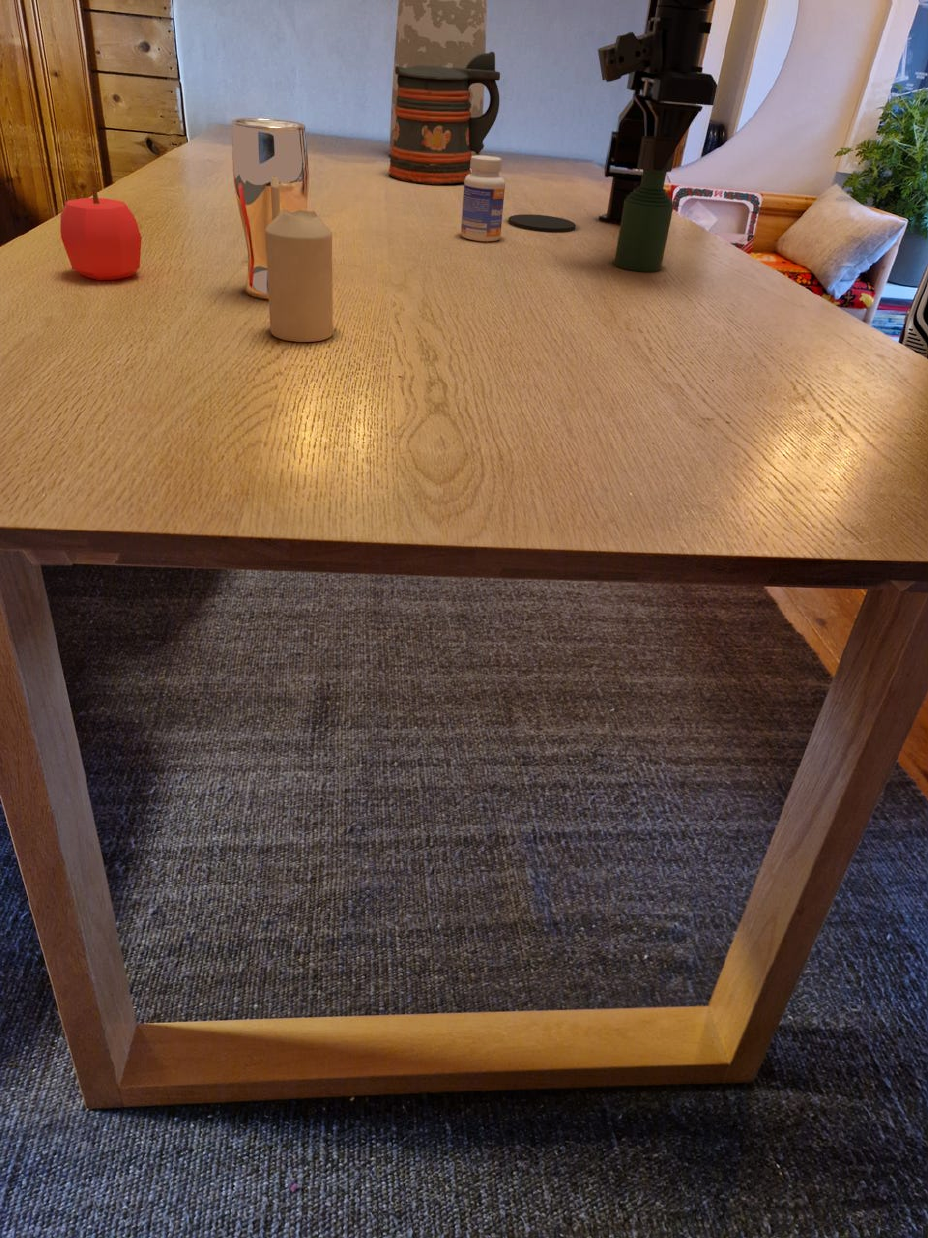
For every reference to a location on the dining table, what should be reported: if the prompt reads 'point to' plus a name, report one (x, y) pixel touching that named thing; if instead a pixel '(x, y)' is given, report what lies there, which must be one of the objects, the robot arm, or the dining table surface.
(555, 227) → the coaster
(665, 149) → the robot arm
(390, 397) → the dining table surface
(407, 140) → the beer stein
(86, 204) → the apple
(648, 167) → the cap
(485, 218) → the pill bottle
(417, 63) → the vase
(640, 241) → the bottle
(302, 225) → the candle
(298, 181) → the beer glass
